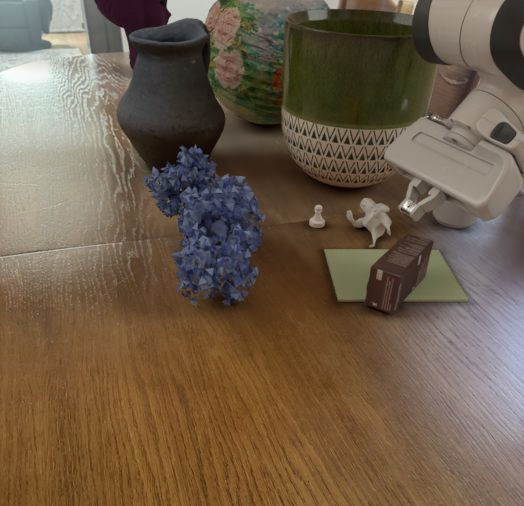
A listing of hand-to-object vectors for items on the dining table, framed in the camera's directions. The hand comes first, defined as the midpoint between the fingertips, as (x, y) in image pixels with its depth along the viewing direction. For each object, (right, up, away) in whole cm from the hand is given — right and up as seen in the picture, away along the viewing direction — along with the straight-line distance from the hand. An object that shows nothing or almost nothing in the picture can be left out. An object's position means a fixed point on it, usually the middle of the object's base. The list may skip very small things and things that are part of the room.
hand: (406, 215), depth 76 cm
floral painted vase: (-18, +37, +60) cm, 73 cm away
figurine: (-2, +1, +17) cm, 17 cm away
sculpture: (-57, +66, +94) cm, 128 cm away
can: (+13, +4, +21) cm, 25 cm away
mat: (-1, -7, +6) cm, 9 cm away
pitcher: (-37, +19, +37) cm, 55 cm away
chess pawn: (-11, +2, +18) cm, 21 cm away
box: (+3, -5, +4) cm, 7 cm away
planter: (-3, +15, +34) cm, 37 cm away
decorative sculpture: (-28, -6, +7) cm, 29 cm away
